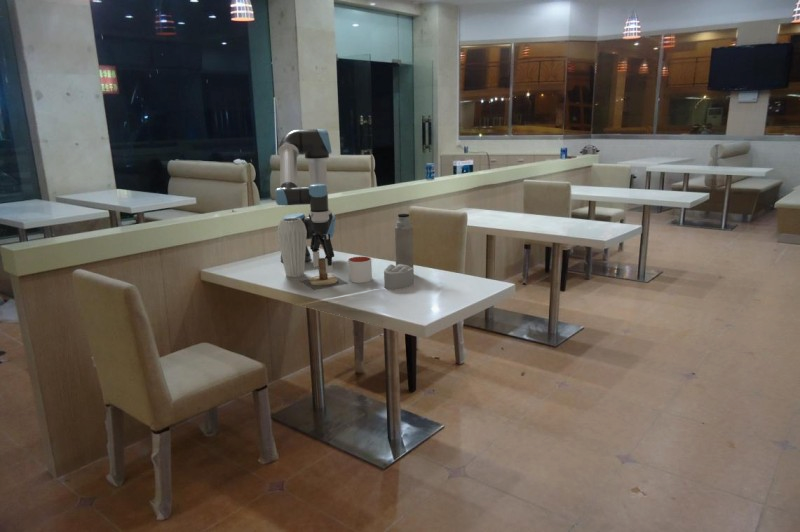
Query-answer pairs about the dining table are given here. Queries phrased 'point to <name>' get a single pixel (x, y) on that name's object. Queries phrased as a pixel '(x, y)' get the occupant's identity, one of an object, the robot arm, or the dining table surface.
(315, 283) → the lid
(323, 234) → the robot arm
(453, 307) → the dining table surface
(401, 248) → the thermos bottle
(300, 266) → the vase
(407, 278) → the lumpy-topped squat cylinder
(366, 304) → the dining table surface
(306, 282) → the mat
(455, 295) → the dining table surface
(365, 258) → the cup
